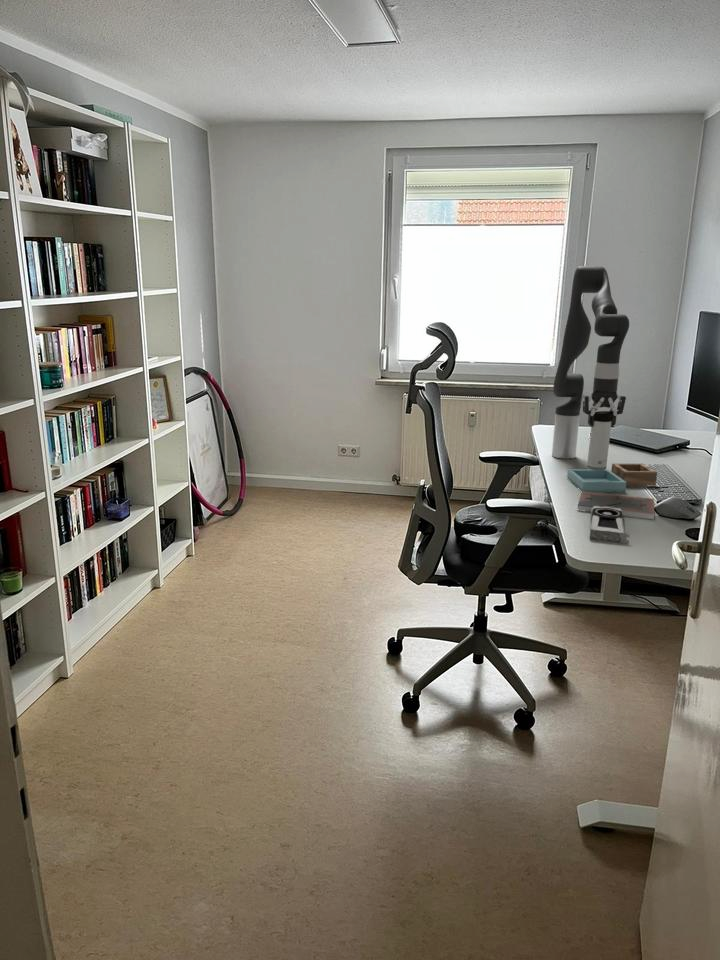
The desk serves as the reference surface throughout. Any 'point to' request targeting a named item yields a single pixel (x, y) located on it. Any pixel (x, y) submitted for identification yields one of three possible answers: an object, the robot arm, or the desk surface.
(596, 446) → the travel mug
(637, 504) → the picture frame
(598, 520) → the graphics card
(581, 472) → the tray
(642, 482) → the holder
